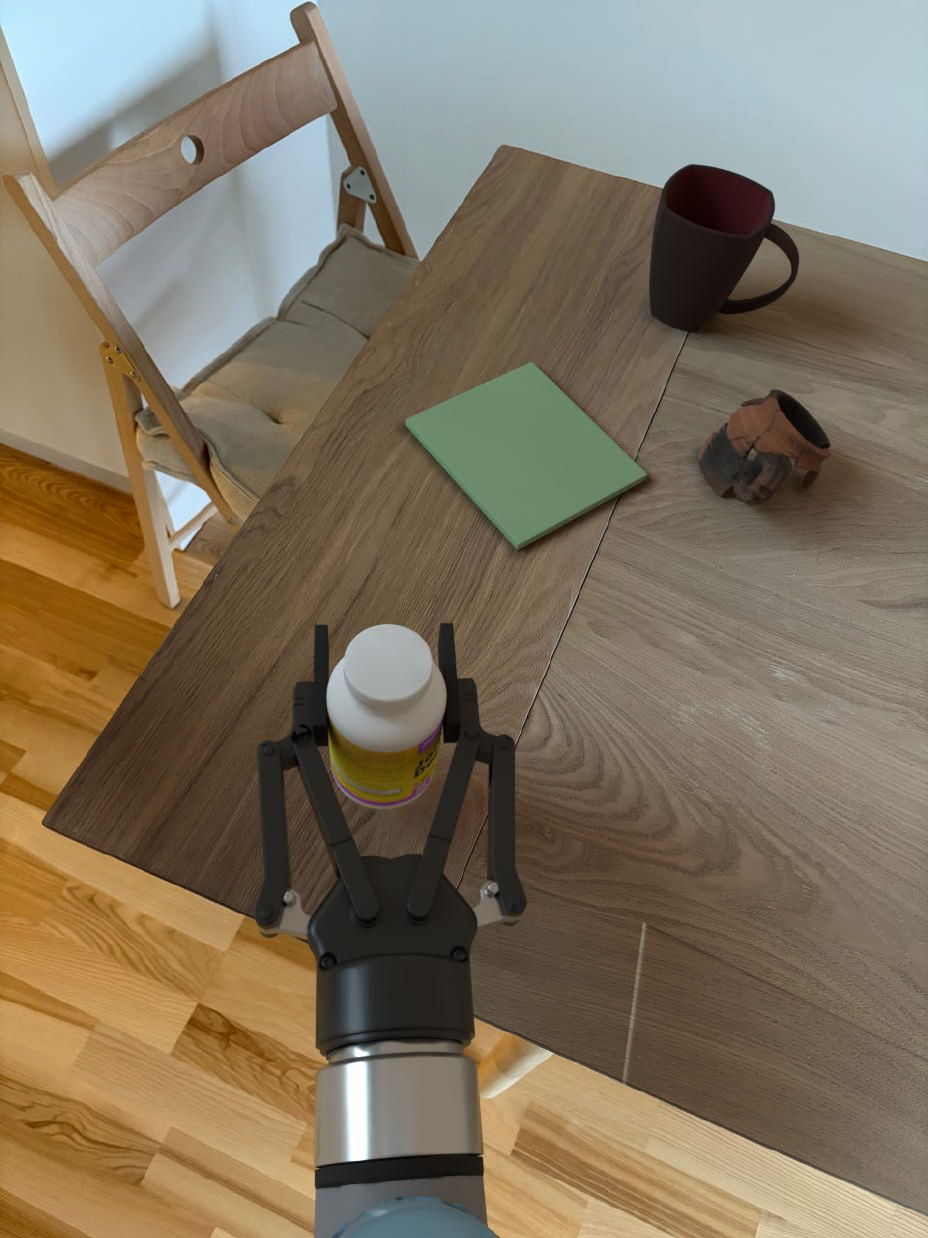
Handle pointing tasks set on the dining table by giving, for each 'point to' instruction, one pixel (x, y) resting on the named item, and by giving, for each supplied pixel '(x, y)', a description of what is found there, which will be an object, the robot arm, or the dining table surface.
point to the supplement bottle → (385, 717)
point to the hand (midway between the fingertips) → (383, 636)
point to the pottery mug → (763, 448)
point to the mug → (710, 245)
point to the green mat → (525, 453)
